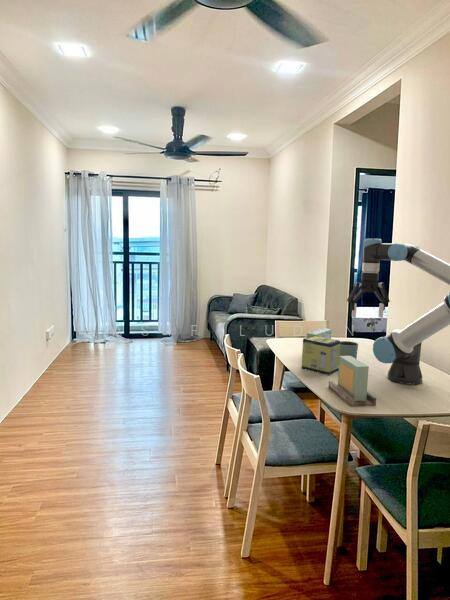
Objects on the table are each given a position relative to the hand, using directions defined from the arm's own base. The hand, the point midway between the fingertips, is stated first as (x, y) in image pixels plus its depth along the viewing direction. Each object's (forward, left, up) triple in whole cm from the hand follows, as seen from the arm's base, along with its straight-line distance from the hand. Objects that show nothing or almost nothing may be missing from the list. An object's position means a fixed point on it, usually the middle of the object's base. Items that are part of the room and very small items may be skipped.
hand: (367, 317), depth 203 cm
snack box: (+9, -35, -29) cm, 46 cm away
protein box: (+17, -12, -29) cm, 36 cm away
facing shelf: (+18, +25, -29) cm, 42 cm away
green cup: (0, -18, -29) cm, 34 cm away
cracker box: (+18, +25, -28) cm, 41 cm away
